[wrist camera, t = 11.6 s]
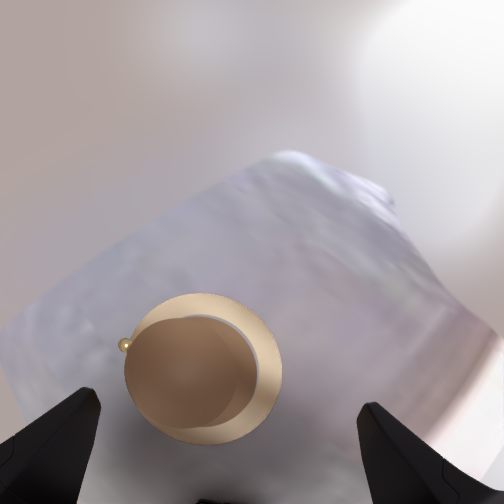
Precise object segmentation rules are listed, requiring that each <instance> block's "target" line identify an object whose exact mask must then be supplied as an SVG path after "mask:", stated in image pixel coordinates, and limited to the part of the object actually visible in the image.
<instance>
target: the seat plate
mask: <svg viewBox="0 0 504 504" xmlns="http://www.w3.org/2000/svg"><path fill="white" fill-rule="evenodd" d="M195 316H197V317H209V318H213V319H217V320H219V321H222V322H224V323H226V324H227V325H229V326H231V327H232V328H234V329H235V330H236V331H237V332H238V333H239V334H241V335H242V337H243V338H244V339H245V340H246V341H247V343H248V345H249V346H250V348H251V350H252V352H253V354H254V358H255V361H256V366H257V382H256V387H255V391H254V393H253V396H252V398H251V400H250V401H249V403H248V405H247V406H246V407H245V408H244V410H243V411H241V412H240V413H239V414H238V415H237V416H236V417H234V418H233V419H231V420H229V421H227V422H225V423H223V424H220V425H216V426H212V427H196V428H189V429H179V428H172V427H168V426H165V425H162V424H160V423H158V422H156V421H154V420H152V419H151V418H149V417H148V416H147V415H145V414H144V413H143V412H142V411H141V410H140V409H139V408H138V407H137V408H138V409H139V411H140V412H141V413H142V415H143V416H144V417H145V418H146V419H147V420H148V421H149V422H150V423H151V424H152V425H153V426H154V427H156V428H157V429H158V430H160V431H161V432H162V433H164V434H166V435H168V436H170V437H172V438H174V439H177V440H179V441H182V442H186V443H190V444H196V445H217V444H223V443H227V442H230V441H234V440H236V439H238V438H240V437H243V436H244V435H246V434H248V433H249V432H251V431H252V430H253V429H255V428H256V427H257V426H258V425H259V424H260V423H261V422H262V421H263V420H264V419H265V418H266V417H267V415H268V414H269V412H270V411H271V410H272V408H273V406H274V404H275V402H276V400H277V397H278V394H279V391H280V386H281V380H282V365H281V358H280V353H279V349H278V347H277V344H276V342H275V339H274V338H273V336H272V334H271V332H270V331H269V329H268V328H267V326H266V325H265V324H264V322H263V321H262V320H261V319H260V318H259V317H258V316H257V315H256V314H255V313H253V312H252V311H251V310H250V309H248V308H247V307H245V306H244V305H242V304H240V303H238V302H236V301H234V300H232V299H229V298H226V297H223V296H220V295H215V294H206V293H195V294H187V295H182V296H178V297H175V298H172V299H170V300H168V301H165V302H163V303H162V304H160V305H159V306H157V307H155V308H154V309H153V310H152V311H151V312H149V313H148V314H147V315H146V316H145V317H144V318H143V319H142V321H141V322H140V323H139V325H138V326H137V327H136V329H135V331H134V333H133V335H132V337H131V339H130V340H129V339H125V338H123V339H121V340H120V341H119V344H118V346H119V349H120V350H121V351H122V352H126V356H127V352H128V350H129V348H130V346H131V344H132V342H133V341H134V339H135V338H136V337H137V336H138V335H139V334H140V333H141V332H142V331H143V330H144V329H145V328H147V327H148V326H150V325H152V324H154V323H156V322H159V321H161V320H165V319H172V318H187V317H195ZM134 403H135V402H134ZM136 406H137V405H136Z"/></svg>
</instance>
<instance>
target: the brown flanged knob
mask: <svg viewBox="0 0 504 504" xmlns="http://www.w3.org/2000/svg"><path fill="white" fill-rule="evenodd" d="M124 374H125V381H126V385H127V388H128V391H129V394H130V396H131V397H132V399H133V401H134V402H135V404H136V405H137V407H138V408H139V409H140V410H141V411H142V412H143V413H144V414H145V415H147V416H148V417H149V418H151V419H152V420H154V421H156V422H158V423H160V424H162V425H165V426H168V427H172V428H179V429H189V428H196V427H212V426H216V425H220V424H223V423H225V422H227V421H229V420H231V419H233V418H234V417H236V416H237V415H238V414H239V413H240V412H241V411H243V410H244V408H245V407H246V406H247V405H248V403H249V401H250V400H251V398H252V396H253V393H254V391H255V387H256V382H257V366H256V361H255V358H254V354H253V352H252V350H251V348H250V346H249V345H248V343H247V341H246V340H245V339H244V338H243V337H242V335H241V334H239V333H238V332H237V331H236V330H235V329H234V328H232V327H231V326H229V325H227V324H226V323H224V322H222V321H219V320H217V319H213V318H209V317H197V316H195V317H187V318H172V319H165V320H161V321H159V322H156V323H154V324H152V325H150V326H148V327H147V328H145V329H144V330H143V331H142V332H141V333H140V334H139V335H138V336H137V337H136V338H135V339H134V341H133V342H132V344H131V346H130V348H129V350H128V352H127V356H126V360H125V369H124Z"/></svg>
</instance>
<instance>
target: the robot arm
mask: <svg viewBox="0 0 504 504" xmlns="http://www.w3.org/2000/svg"><path fill="white" fill-rule="evenodd" d="M100 411H101V404H100V402H99V399H98V397H97V395H96V392H95V391H94V390H93V389H91V388H87V387H82V388H80V389H79V390H77V391H76V392H75V393H73V394H72V395H70V396H69V397H67V398H66V399H65V400H63V401H62V402H60V403H59V404H58V405H56V406H55V407H53V408H52V409H50V410H49V411H48V412H46V413H45V414H43V415H42V416H41V417H39V418H38V419H36V420H35V421H33V422H32V423H31V424H29V425H28V426H26V427H25V428H24V429H22V430H21V431H19V432H18V433H16V434H15V436H12V437H10V438H9V439H8V440H6V441H4V442H3V443H1V444H0V504H77V500H78V496H79V492H80V488H81V485H82V481H83V478H84V474H85V471H86V467H87V464H88V461H89V458H90V454H91V451H92V448H93V444H94V440H95V435H96V430H97V425H98V420H99V416H100ZM357 428H358V435H359V442H360V449H361V456H362V461H363V465H364V469H365V473H366V477H367V481H368V485H369V489H370V493H371V497H372V501H373V504H504V491H499V490H495V489H492V488H490V487H488V486H486V485H484V484H483V483H481V482H479V481H477V480H476V479H474V478H472V477H470V476H469V475H467V474H466V473H464V472H462V471H461V470H459V469H458V468H457V467H455V466H454V465H453V464H451V463H450V462H449V461H447V460H446V459H445V458H443V457H442V456H441V455H440V454H439V453H437V452H436V451H435V450H434V449H432V448H431V447H430V446H429V445H427V444H426V443H425V442H424V441H422V440H421V439H420V438H419V437H418V436H416V435H415V434H414V433H413V432H412V431H410V430H409V429H408V428H407V427H406V426H404V425H403V424H402V423H401V422H400V421H398V420H397V419H396V418H395V417H394V416H392V415H391V414H390V413H389V412H388V411H387V410H385V409H384V408H383V407H382V406H381V405H379V404H378V403H377V402H370V403H365V404H364V405H363V407H362V409H361V411H360V413H359V415H358V417H357ZM201 503H203V504H229V503H217V502H213V501H209V500H204V499H200V500H198V501H197V503H196V504H201Z"/></svg>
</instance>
